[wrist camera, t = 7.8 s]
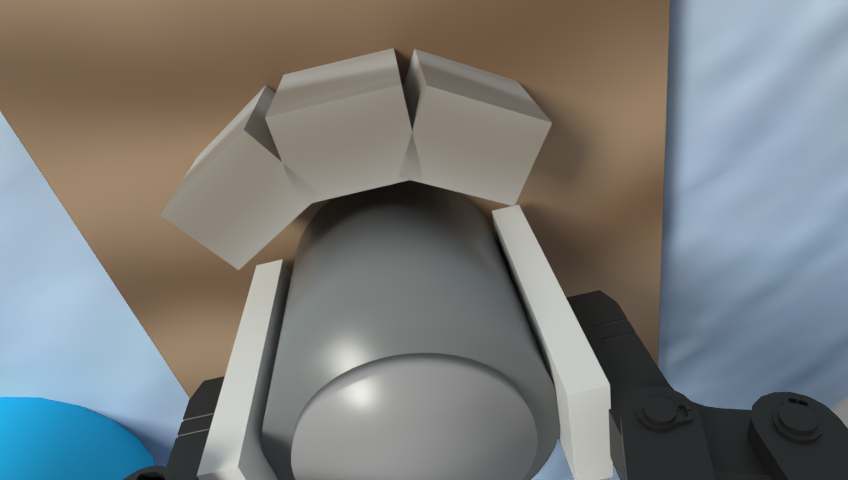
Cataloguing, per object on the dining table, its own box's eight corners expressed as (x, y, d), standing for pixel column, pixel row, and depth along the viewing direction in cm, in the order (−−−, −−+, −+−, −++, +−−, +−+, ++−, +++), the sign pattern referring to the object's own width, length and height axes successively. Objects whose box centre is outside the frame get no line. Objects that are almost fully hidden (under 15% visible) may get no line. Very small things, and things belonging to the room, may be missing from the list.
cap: (263, 207, 15) (204, 387, 9) (483, 156, 14) (555, 308, 9) (330, 365, 18) (315, 567, 12) (511, 324, 18) (576, 512, 12)
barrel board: (-33, 0, 13) (-185, 41, 9) (649, -172, 12) (767, -199, 9) (256, 464, 22) (236, 571, 19) (642, 379, 22) (697, 473, 18)
